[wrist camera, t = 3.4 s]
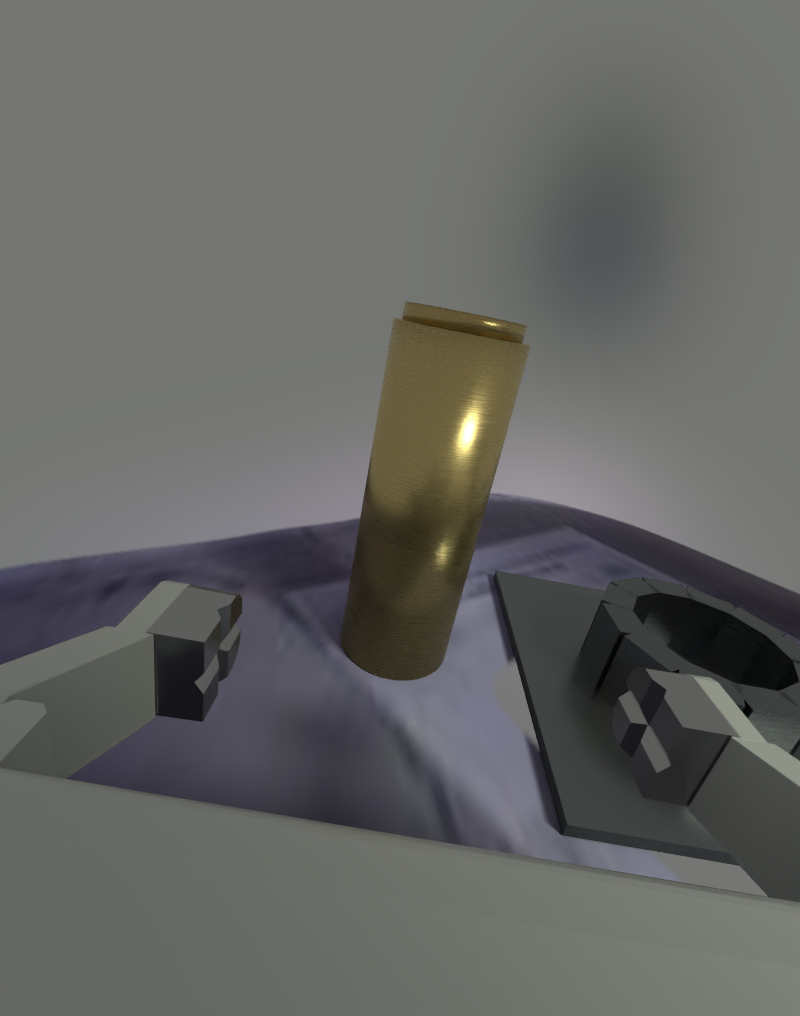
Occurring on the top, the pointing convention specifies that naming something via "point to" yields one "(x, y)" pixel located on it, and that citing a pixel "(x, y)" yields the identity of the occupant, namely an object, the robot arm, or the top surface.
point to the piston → (428, 483)
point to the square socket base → (602, 680)
